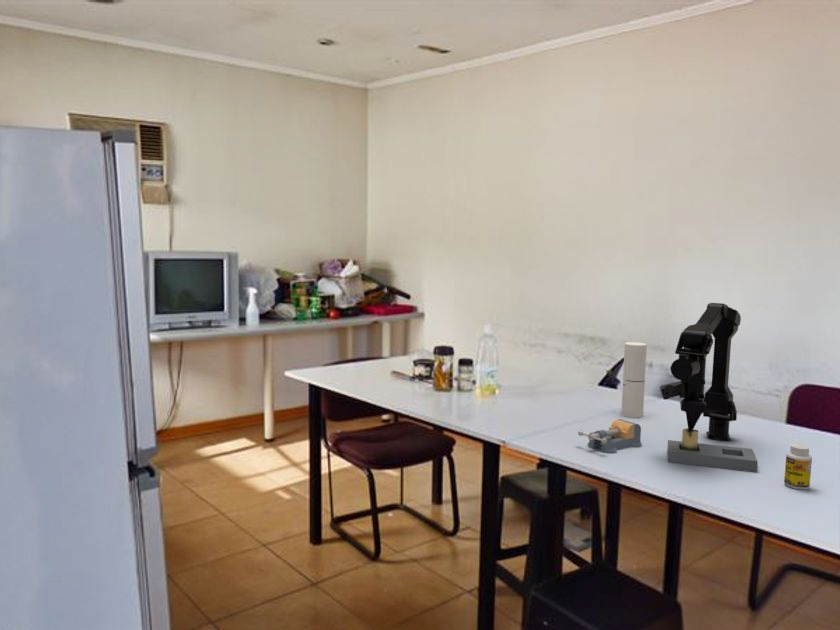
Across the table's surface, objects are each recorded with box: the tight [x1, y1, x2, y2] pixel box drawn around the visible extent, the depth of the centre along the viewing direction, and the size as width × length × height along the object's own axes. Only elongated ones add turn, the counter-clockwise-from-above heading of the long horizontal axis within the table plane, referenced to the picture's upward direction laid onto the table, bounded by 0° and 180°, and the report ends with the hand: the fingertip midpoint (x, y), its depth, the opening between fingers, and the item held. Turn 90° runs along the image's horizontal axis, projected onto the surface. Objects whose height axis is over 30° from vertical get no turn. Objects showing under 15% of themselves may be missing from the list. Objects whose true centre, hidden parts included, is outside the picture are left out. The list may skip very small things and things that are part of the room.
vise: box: [577, 418, 643, 455], centre depth 197 cm, size 18×10×7 cm, turn 123°
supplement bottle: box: [783, 443, 813, 490], centre depth 166 cm, size 6×6×10 cm
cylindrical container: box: [620, 341, 648, 419], centre depth 231 cm, size 7×7×25 cm
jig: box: [666, 439, 759, 473], centre depth 185 cm, size 11×22×3 cm, turn 71°
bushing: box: [681, 427, 699, 451], centre depth 187 cm, size 4×4×8 cm
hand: (690, 429), depth 186 cm, fingers closed, pressing on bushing
